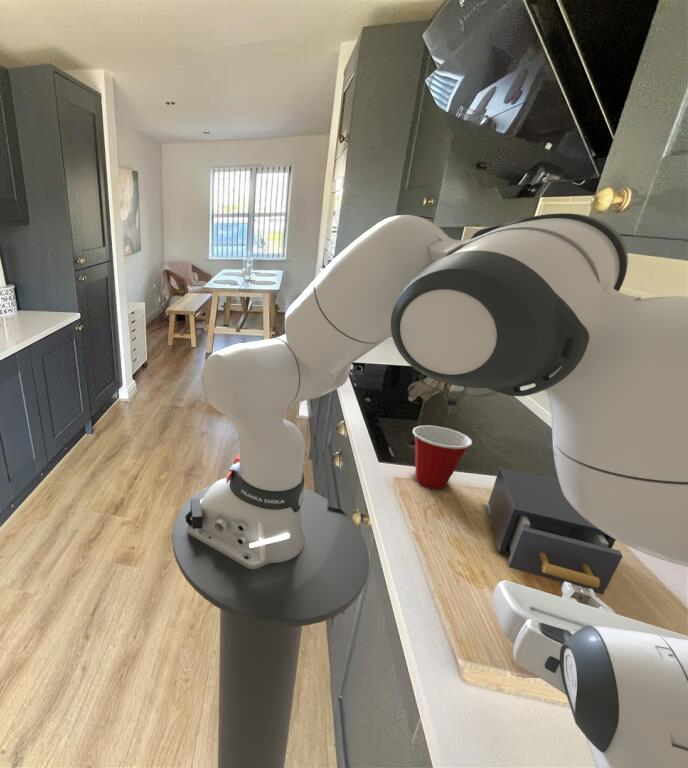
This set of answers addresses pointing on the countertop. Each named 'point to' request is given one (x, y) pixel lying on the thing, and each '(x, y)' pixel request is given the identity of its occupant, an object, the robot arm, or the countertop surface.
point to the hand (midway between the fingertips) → (576, 588)
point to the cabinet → (530, 505)
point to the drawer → (562, 553)
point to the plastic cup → (437, 454)
